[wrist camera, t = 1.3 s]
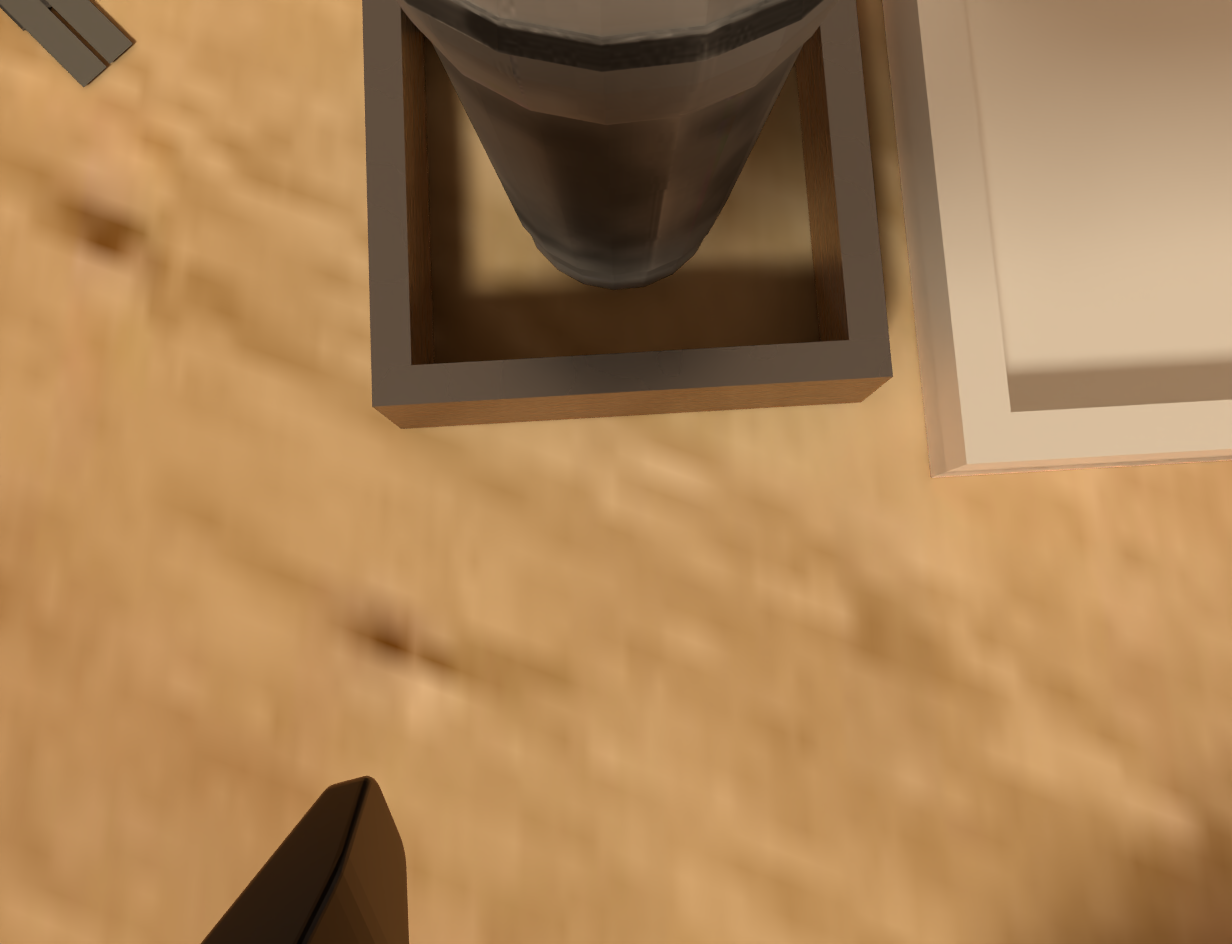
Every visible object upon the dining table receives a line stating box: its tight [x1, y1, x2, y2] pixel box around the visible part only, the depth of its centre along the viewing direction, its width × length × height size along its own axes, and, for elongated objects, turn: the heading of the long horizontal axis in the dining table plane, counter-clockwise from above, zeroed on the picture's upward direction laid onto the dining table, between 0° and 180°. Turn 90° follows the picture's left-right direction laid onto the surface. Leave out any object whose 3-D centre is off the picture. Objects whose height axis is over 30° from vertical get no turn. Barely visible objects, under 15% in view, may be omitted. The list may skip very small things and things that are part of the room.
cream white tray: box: [882, 0, 1232, 478], centre depth 21 cm, size 14×14×2 cm
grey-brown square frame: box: [362, 0, 893, 429], centre depth 21 cm, size 10×10×2 cm
